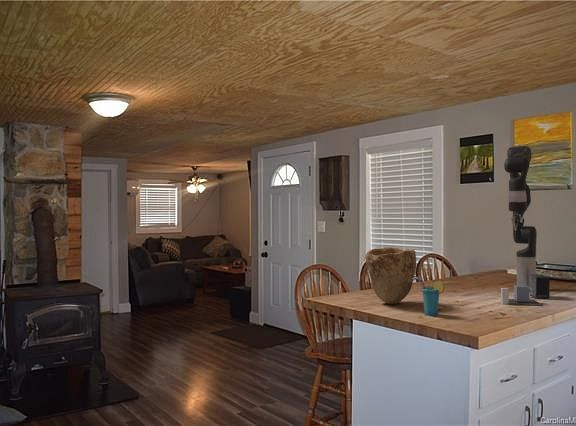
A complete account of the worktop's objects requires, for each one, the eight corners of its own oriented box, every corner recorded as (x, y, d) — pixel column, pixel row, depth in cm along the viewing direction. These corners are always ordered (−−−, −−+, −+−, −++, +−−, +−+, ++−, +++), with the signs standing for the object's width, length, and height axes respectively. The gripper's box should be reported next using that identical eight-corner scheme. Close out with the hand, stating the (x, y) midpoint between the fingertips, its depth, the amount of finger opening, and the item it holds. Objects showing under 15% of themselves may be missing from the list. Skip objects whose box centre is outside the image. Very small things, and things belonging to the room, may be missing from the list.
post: (501, 303, 228) (501, 287, 228) (507, 303, 228) (507, 287, 228) (502, 304, 226) (502, 288, 226) (508, 304, 225) (508, 288, 225)
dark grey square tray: (501, 299, 237) (501, 284, 237) (533, 300, 234) (533, 285, 234) (508, 305, 223) (508, 289, 223) (543, 306, 221) (542, 290, 221)
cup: (408, 314, 207) (408, 277, 207) (416, 310, 213) (416, 275, 213) (442, 318, 199) (441, 280, 199) (449, 314, 205) (448, 277, 205)
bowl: (357, 301, 236) (356, 248, 236) (396, 297, 245) (396, 246, 245) (384, 310, 216) (383, 251, 216) (427, 305, 225) (426, 249, 224)
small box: (550, 299, 236) (550, 277, 236) (535, 299, 238) (535, 276, 238) (543, 295, 247) (543, 274, 247) (529, 295, 248) (529, 274, 248)
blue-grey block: (514, 299, 232) (514, 285, 232) (526, 299, 231) (526, 285, 231) (516, 301, 227) (516, 286, 227) (529, 301, 226) (529, 286, 226)
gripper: (505, 201, 240) (505, 237, 240) (512, 201, 227) (513, 239, 227) (522, 200, 238) (522, 237, 239) (530, 200, 225) (531, 239, 226)
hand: (518, 238), depth 233 cm, fingers closed
